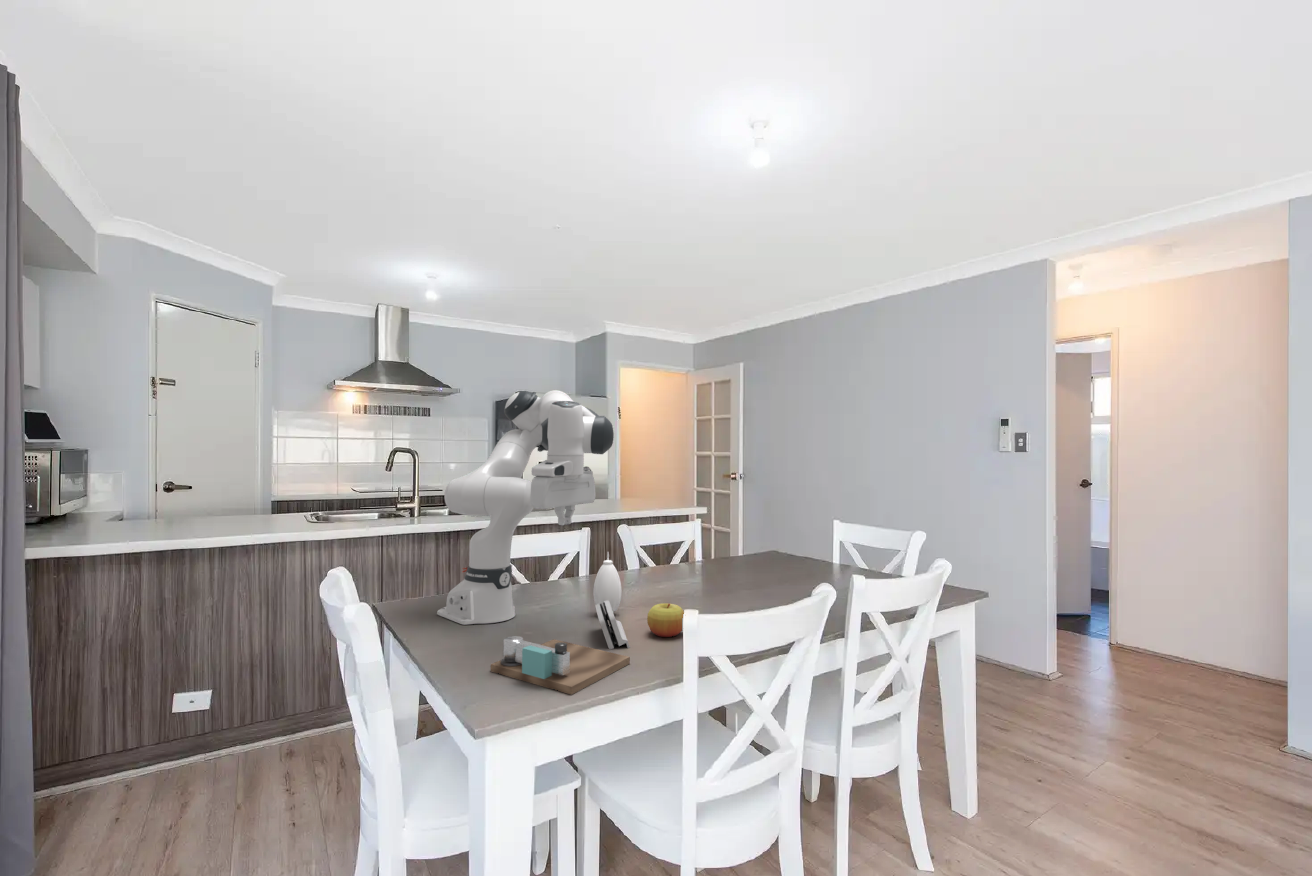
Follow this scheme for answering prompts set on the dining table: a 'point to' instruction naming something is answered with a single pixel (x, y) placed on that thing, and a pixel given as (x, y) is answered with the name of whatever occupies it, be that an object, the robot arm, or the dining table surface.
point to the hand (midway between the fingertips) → (564, 524)
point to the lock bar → (559, 653)
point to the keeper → (537, 662)
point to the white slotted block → (611, 626)
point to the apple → (665, 619)
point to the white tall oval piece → (607, 585)
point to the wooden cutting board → (583, 668)
